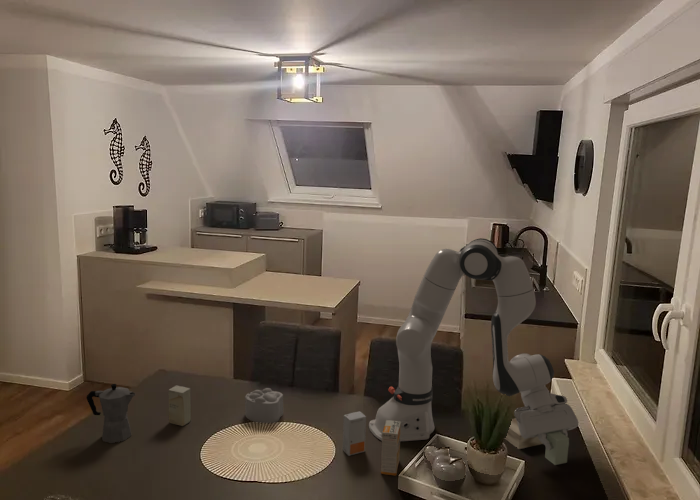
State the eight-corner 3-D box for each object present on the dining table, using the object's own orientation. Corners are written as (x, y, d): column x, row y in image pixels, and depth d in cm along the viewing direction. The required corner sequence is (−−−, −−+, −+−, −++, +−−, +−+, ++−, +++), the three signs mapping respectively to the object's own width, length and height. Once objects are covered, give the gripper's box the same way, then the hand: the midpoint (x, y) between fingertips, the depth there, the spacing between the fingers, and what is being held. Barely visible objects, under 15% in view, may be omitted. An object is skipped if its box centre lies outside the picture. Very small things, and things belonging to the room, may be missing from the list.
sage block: (555, 465, 162) (557, 440, 161) (544, 457, 166) (546, 433, 165) (566, 462, 164) (569, 438, 162) (556, 454, 168) (558, 431, 167)
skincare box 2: (348, 456, 165) (349, 420, 163) (342, 450, 169) (342, 414, 167) (365, 452, 168) (366, 416, 166) (359, 445, 171) (360, 410, 169)
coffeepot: (142, 429, 180) (139, 378, 177) (132, 443, 170) (129, 390, 167) (95, 429, 179) (92, 378, 176) (82, 443, 170) (78, 390, 167)
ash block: (518, 450, 171) (519, 435, 170) (499, 435, 180) (500, 421, 179) (543, 444, 175) (544, 430, 174) (523, 429, 184) (524, 416, 183)
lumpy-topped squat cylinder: (275, 424, 184) (275, 400, 183) (240, 420, 187) (239, 397, 185) (285, 410, 194) (285, 388, 193) (251, 407, 197) (251, 384, 195)
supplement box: (396, 476, 155) (398, 434, 153) (380, 474, 156) (381, 432, 154) (400, 461, 163) (401, 420, 161) (384, 459, 164) (385, 419, 162)
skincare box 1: (168, 423, 184) (167, 389, 182) (177, 417, 188) (176, 384, 186) (183, 426, 182) (182, 392, 180) (192, 420, 186) (190, 387, 184)
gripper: (517, 405, 165) (536, 450, 158) (569, 396, 172) (590, 439, 165) (507, 412, 170) (525, 456, 162) (558, 403, 177) (578, 445, 170)
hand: (558, 447), depth 164 cm, fingers closed on sage block, 4 cm apart
